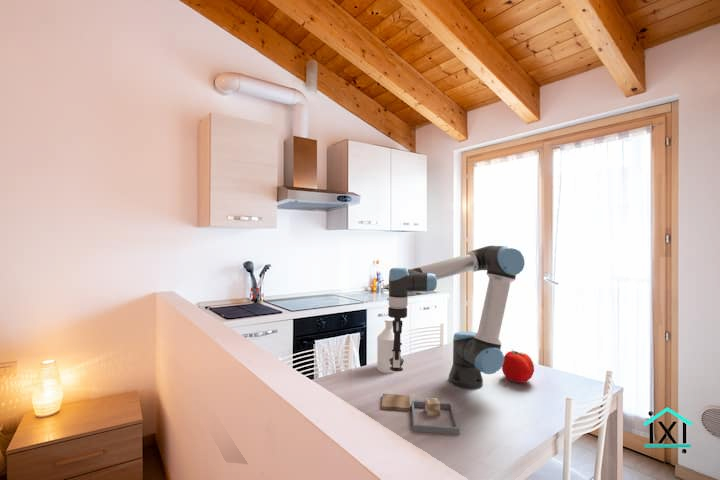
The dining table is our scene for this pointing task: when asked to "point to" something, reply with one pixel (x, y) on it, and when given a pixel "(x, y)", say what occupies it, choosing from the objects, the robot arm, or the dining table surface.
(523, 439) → the dining table surface
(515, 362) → the tomato
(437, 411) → the beech block
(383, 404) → the light brown wooden board
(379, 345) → the bottle
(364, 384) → the dining table surface
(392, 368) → the dark grey chess piece
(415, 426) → the tray
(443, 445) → the dining table surface
